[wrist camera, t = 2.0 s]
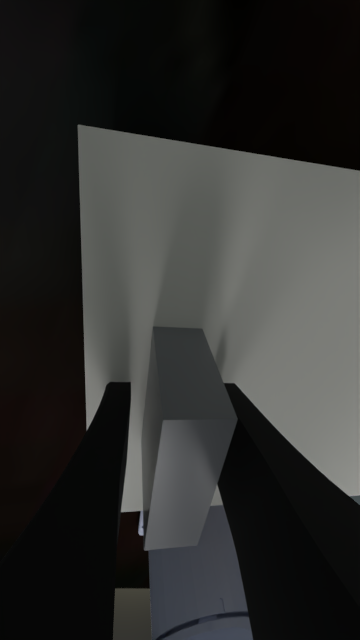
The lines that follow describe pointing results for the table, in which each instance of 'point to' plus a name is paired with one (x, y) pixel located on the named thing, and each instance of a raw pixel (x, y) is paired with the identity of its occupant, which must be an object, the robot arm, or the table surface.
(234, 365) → the carton lid
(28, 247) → the table surface
